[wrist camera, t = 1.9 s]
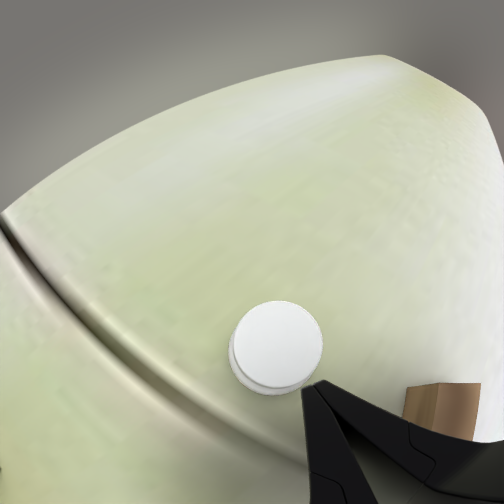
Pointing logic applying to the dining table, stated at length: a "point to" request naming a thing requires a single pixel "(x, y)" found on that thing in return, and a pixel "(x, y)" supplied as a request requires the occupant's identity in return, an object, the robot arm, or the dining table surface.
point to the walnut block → (444, 408)
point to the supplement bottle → (275, 348)
